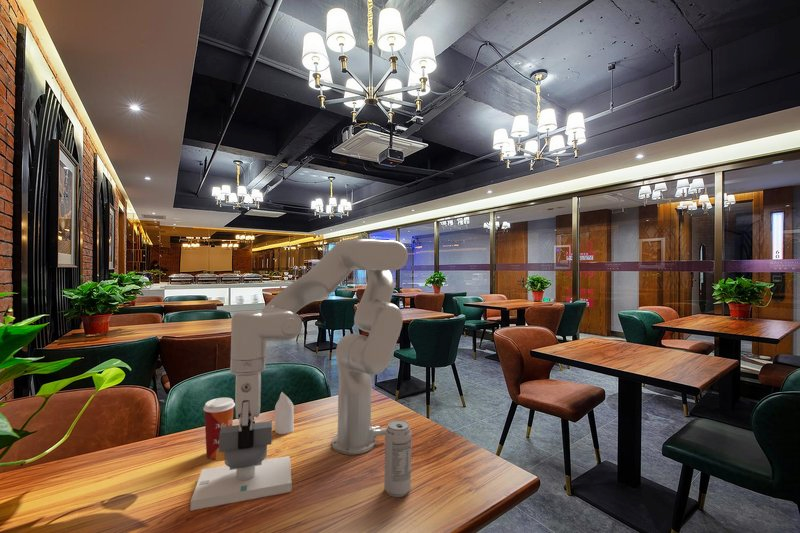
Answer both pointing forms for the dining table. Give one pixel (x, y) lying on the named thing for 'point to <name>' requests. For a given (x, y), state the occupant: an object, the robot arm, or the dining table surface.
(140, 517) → the dining table surface
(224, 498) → the base
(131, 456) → the dining table surface
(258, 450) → the lock knob
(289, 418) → the white pointed block
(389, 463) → the energy drink can
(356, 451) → the robot arm
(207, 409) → the paper cup
